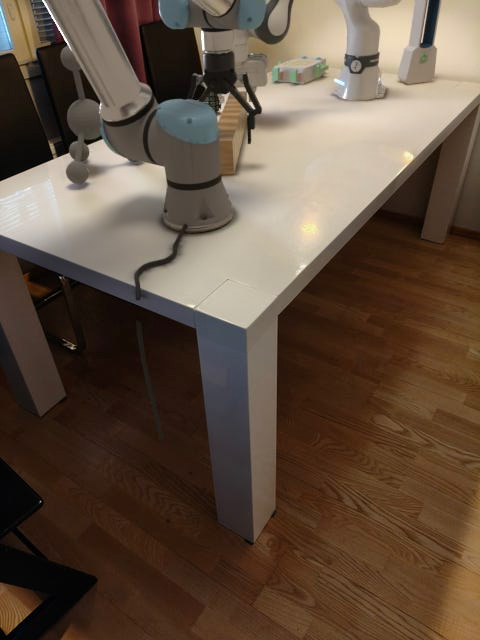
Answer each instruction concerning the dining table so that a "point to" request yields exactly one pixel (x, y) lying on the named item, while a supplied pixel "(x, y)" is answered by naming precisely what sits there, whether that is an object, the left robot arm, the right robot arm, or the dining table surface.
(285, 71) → the white green flat box
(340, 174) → the dining table surface
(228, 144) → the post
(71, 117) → the molecular model
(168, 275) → the dining table surface
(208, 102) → the grenade
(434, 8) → the electronic device
